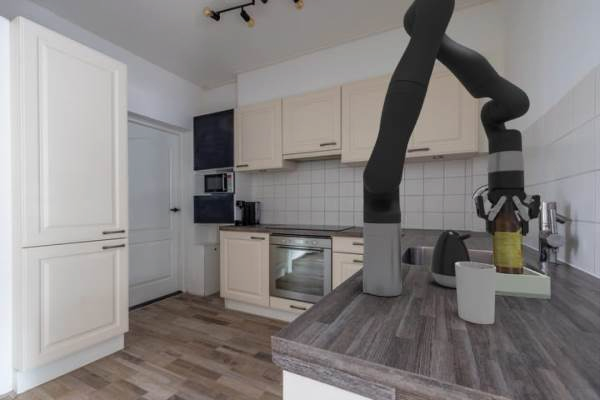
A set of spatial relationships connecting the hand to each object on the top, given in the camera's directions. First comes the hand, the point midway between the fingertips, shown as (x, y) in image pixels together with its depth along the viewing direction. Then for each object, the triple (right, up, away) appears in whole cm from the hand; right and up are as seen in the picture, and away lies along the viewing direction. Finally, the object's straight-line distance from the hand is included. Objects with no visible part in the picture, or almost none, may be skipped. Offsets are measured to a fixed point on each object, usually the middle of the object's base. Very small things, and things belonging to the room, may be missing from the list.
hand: (506, 235), depth 70 cm
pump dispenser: (-12, -14, +3) cm, 19 cm away
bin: (0, -14, 0) cm, 14 cm away
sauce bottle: (0, -10, 0) cm, 10 cm away
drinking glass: (-20, -14, -18) cm, 30 cm away
